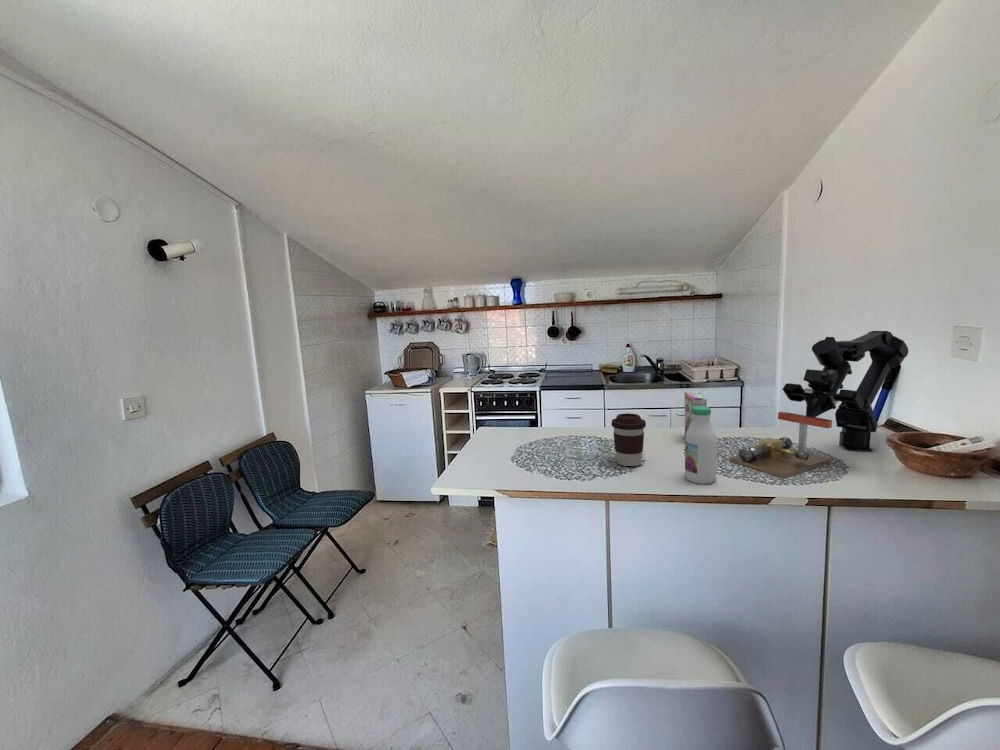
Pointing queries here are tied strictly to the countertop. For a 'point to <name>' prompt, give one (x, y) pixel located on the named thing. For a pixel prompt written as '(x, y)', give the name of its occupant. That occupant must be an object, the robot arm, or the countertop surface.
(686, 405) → the candy bar box
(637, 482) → the countertop surface
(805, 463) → the valve on board
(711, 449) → the milk bottle
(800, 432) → the valve lever
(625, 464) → the coffee cup
